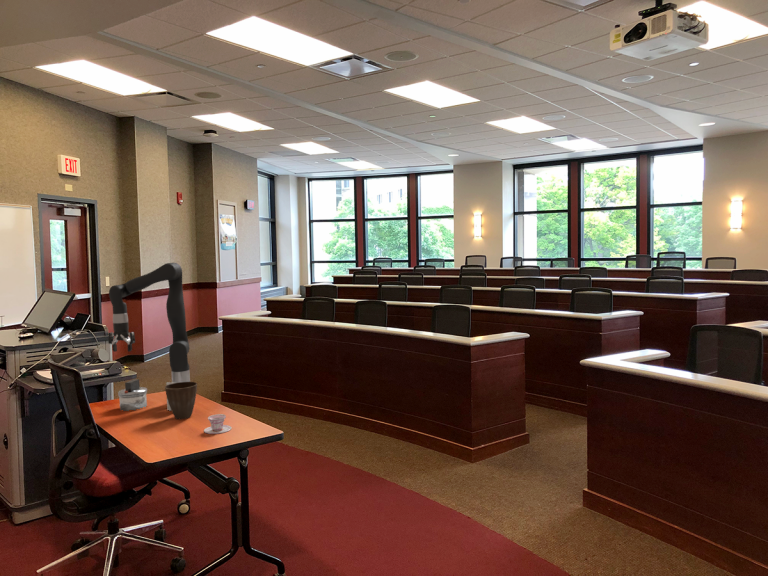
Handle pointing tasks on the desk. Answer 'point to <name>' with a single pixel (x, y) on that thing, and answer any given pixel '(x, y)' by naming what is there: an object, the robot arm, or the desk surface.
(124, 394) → the cooker lid
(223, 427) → the teacup
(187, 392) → the plant pot
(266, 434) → the desk surface
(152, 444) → the desk surface
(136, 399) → the cooker pot
